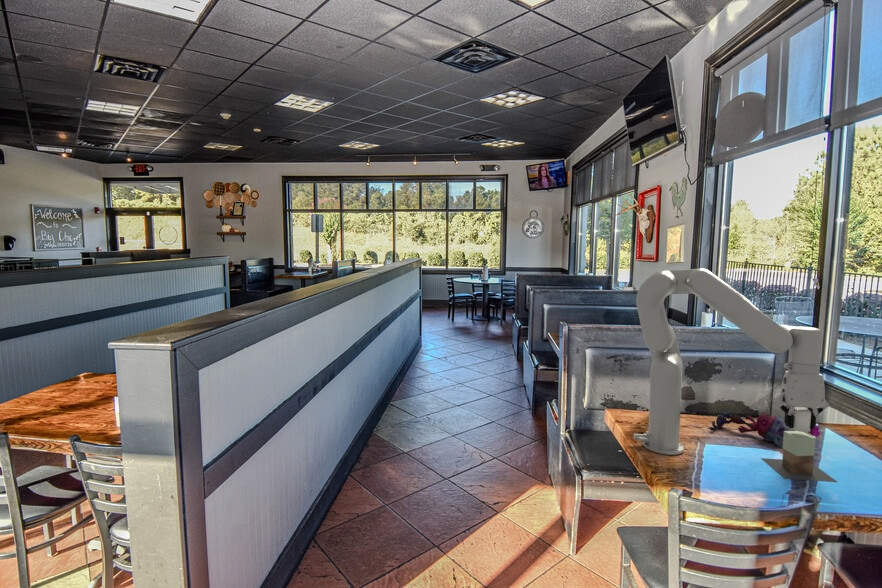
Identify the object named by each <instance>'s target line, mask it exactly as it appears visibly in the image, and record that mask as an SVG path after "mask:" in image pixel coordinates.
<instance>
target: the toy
mask: <svg viewBox="0 0 882 588" xmlns="http://www.w3.org/2000/svg"><path fill="white" fill-rule="evenodd" d="M744 418H745V420H749V421H750V422H751V423H749V422H746V421H745V420H744V419H743V418H742V417H741V416H739V415H738V414H734V415H732V412H731V411H723V412H722V413H721V414H718V416H717V417H716V421H715V420H713V421H712V422H711V426H710V427H709V430H710V431H717V430H719V429H721V428H723V426H724V425H726V424H727V425H728V424H729V425H730V424H731V423H733V424H736V425H740V426H738V427H737V429H738V432H739V433H741V434H744V433H749V432H757V434H758V435H759V436H760V437H762V438H763V439H764V440H766V441H768V442H772V443H774V444H775V446H776V447H778V448H779V449H780V448H781V449H783V436H784V431H795V430H792V429H790V428H789V427H788V426H786V425H785V422H784V421H785V419H783V418H781V417H779V416H772V415H771V414H766V413H763V414H760V415H759V416H758V417H757V419H756V420H755V419H754V418H753V417H752V416H751V415H746V416H744ZM743 425H745V426H747V427H745V426H743ZM819 431H820V427H819V426H818V425H815V428H814V430H812V429H810V432H808V434H809V435H811V436H813V437H815V438H818V437H820V432H819Z"/></svg>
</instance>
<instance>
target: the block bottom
mask: <svg viewBox="0 0 882 588" xmlns="http://www.w3.org/2000/svg"><path fill="white" fill-rule="evenodd" d="M782 459H783V462H782V465H783V466H784V467H786V468H787V469H788V470H789V471H790V472H792V473H801V474H813V464H814V459H815V455H814V456H795V455H794V454H792V453H790V452H788V451H787V450H785V449H783V448H782Z"/></svg>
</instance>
